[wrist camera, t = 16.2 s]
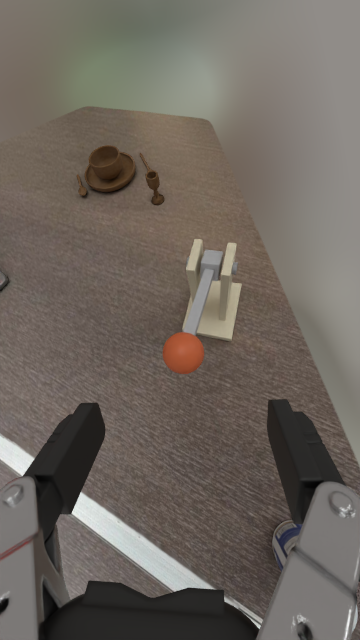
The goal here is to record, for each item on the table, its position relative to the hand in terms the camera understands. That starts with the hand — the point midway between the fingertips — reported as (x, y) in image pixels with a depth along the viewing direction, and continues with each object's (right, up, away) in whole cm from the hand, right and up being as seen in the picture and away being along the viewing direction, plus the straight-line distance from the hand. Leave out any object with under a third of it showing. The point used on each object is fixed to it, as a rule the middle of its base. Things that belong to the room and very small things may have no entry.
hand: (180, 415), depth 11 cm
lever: (+2, +5, +15) cm, 16 cm away
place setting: (-14, +35, +44) cm, 58 cm away
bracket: (+6, +6, +30) cm, 31 cm away
